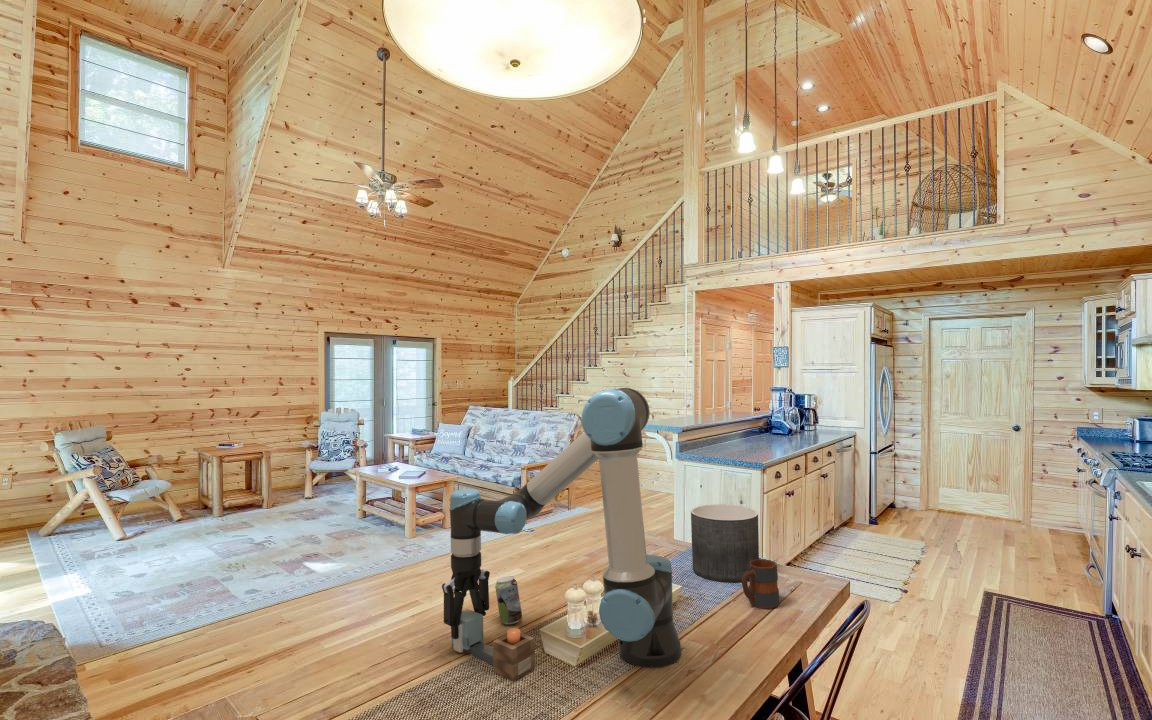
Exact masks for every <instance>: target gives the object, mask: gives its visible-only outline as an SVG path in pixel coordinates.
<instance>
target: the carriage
mask: <svg viewBox="0 0 1152 720" xmlns="http://www.w3.org/2000/svg"><path fill="white" fill-rule="evenodd" d="M460 624H462V628H463V649H465V650H469V649H470V645H472V644H474V643H476V642H481V643H485V642H484V641H485V640H484V616H483V615H482V614H479V613H477V612H474V610H471V609H468V608H466V609H465V610H462V614H461V619H460ZM452 644H453V638H452V637H451V645H452Z"/></svg>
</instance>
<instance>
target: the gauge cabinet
mask: <svg viewBox="0 0 1152 720" xmlns="http://www.w3.org/2000/svg"><path fill="white" fill-rule="evenodd" d="M492 647H493V665H492V666H493V673H494V674H498V675H499V676H502V677H504V678H506V679H507V680H510V681H512V682H514V681H516V680H518V679H519V678H521V677H523V676H525V675H526V674H528V673H530V672H532V671H533V670H534V669H536V656H535V655H536V652H535V651H536V650H535V647H536V646H535V637H533V636H530V635H528V634H526V633H523V632H520V642H518V643H516V644H514V645H513V646H512V645H510V644H507V634H505V635H503V636H501V637H499V638H497V639H494V640H493V641H492Z"/></svg>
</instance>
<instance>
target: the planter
mask: <svg viewBox="0 0 1152 720" xmlns="http://www.w3.org/2000/svg"><path fill="white" fill-rule="evenodd" d="M690 526H691V557H692V559H691V560H692V571H693V573H694V574H696V575H697V576H699V577H701V578H704V579H708V580H710V581H716V582H722V583H740V582H741V583H742V576H743V574H744V573H745V572H748V571H749V563H750V561H752V560H757V559H760V543H759V542H760V541H759V540H760V538H759V536H760V535H759V532H760V531H759V512H758V511H757V510H755V509H753V508H751V507H747V506H742V505H735V504H727V503H726V504H724V503H723V504H722V503H721V504H719V503H717V504H716V503H715V504H713V503H712V504H704V505H702V504H701V505H698V506H694V507H693V508H691V510H690ZM748 581H750V578H749V577H748V578H747V582H748Z"/></svg>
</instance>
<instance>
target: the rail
mask: <svg viewBox="0 0 1152 720" xmlns="http://www.w3.org/2000/svg"><path fill="white" fill-rule="evenodd" d="M451 647H453V644H452V643H451ZM463 653H466V654H468V655H471V656H472V657H475V658H477V659H479V660H481V661H484V662H486V663H487V664H490V665H492V666H493V646H491V645H488V644H486V643H485V642H483V643H481V642H476V643H474V644H472V645H470V649H469V650H465V649H463Z"/></svg>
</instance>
